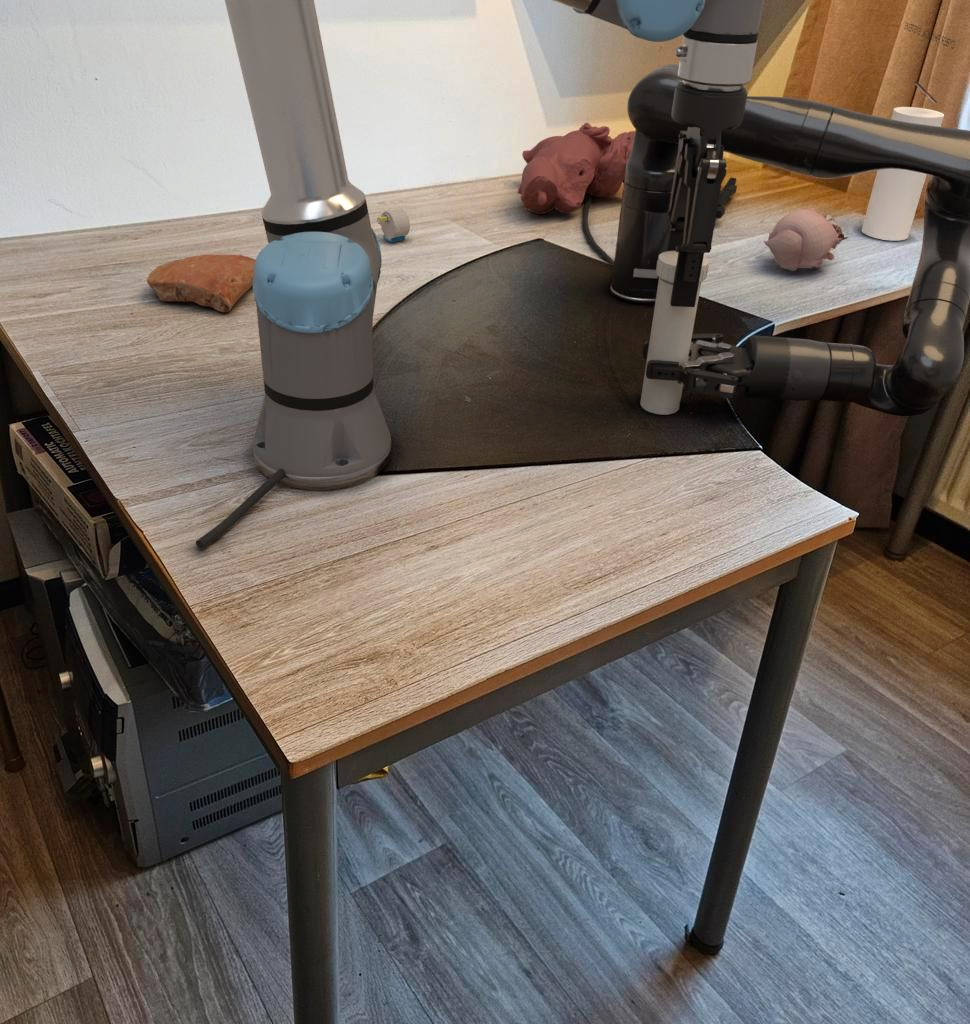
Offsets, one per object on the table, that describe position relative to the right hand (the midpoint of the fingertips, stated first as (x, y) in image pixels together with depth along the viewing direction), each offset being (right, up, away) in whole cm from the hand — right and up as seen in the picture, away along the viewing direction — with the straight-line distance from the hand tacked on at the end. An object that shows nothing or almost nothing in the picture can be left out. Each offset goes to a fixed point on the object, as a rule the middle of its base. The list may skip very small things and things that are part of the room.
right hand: (645, 359), depth 118 cm
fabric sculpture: (-2, +43, +74) cm, 85 cm away
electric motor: (-36, +29, +51) cm, 69 cm away
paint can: (+56, +35, +67) cm, 94 cm away
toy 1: (+26, +44, +77) cm, 93 cm away
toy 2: (+34, +24, +49) cm, 64 cm away
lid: (+3, +10, -7) cm, 13 cm away
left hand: (+3, +7, -5) cm, 9 cm away
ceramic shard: (-62, +15, +28) cm, 70 cm away
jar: (+2, -5, +3) cm, 7 cm away
